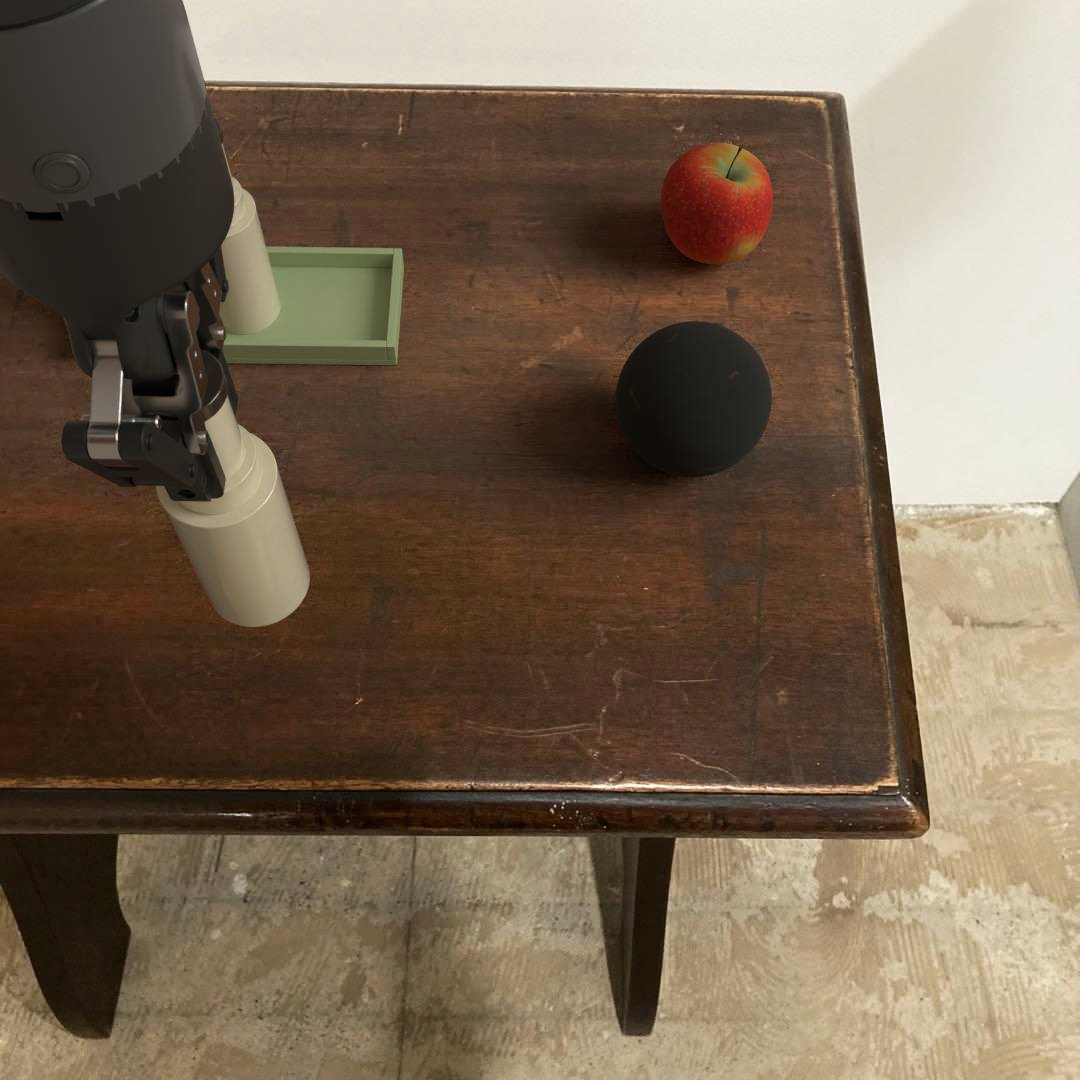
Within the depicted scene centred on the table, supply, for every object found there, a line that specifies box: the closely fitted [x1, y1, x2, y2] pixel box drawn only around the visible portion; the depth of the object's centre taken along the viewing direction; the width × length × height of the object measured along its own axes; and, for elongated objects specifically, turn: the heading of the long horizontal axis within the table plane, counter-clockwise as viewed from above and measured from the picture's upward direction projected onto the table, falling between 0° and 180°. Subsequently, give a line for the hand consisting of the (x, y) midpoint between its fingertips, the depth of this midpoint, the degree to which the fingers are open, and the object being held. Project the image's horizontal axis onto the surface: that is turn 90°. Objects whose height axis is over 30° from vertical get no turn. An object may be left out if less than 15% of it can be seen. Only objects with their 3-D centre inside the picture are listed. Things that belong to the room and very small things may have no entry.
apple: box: [660, 142, 774, 266], centre depth 83 cm, size 8×8×10 cm
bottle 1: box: [214, 116, 281, 335], centre depth 76 cm, size 5×5×16 cm
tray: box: [222, 245, 405, 366], centre depth 82 cm, size 22×9×2 cm, turn 90°
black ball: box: [615, 320, 773, 478], centre depth 74 cm, size 10×10×10 cm
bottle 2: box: [147, 349, 311, 628], centre depth 49 cm, size 5×5×16 cm
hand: (205, 449), depth 46 cm, fingers closed on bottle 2, 3 cm apart
